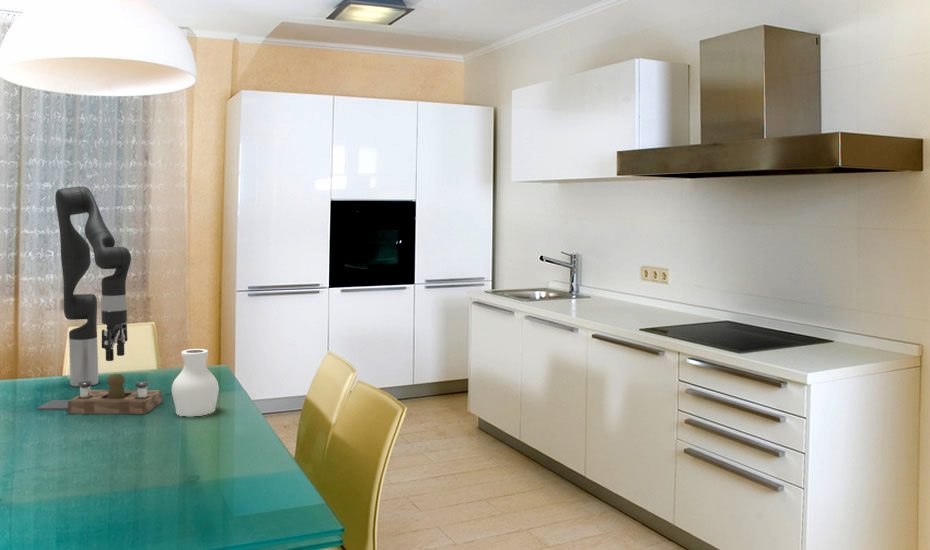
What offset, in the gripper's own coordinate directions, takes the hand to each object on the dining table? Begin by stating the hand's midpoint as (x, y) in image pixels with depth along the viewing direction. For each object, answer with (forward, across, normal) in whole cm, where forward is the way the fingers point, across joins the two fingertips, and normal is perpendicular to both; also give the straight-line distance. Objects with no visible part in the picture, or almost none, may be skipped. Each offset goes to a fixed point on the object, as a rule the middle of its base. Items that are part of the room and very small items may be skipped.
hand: (115, 358), depth 247 cm
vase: (+17, +5, +27) cm, 32 cm away
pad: (+16, -2, -19) cm, 25 cm away
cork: (+17, 0, 0) cm, 17 cm away
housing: (+16, 0, 0) cm, 16 cm away
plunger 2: (+16, +2, +9) cm, 18 cm away
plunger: (+16, +2, -9) cm, 18 cm away
